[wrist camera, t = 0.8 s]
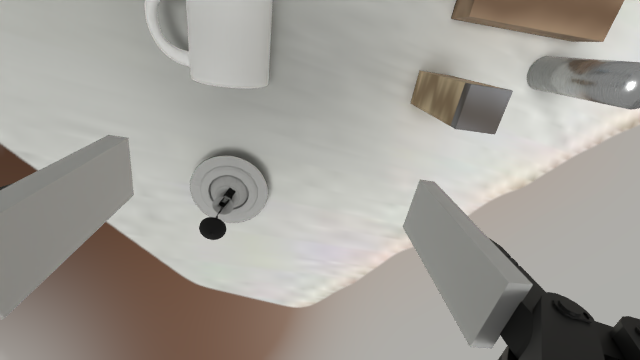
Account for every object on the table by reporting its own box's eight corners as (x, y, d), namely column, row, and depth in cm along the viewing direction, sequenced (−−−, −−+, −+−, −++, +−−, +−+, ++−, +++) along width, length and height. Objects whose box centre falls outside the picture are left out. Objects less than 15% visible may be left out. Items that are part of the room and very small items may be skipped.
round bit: (535, 53, 36) (636, 60, 25) (564, 58, 37) (675, 67, 26) (521, 87, 38) (610, 106, 27) (549, 91, 38) (647, 112, 28)
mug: (276, -16, 31) (269, -31, 24) (271, 81, 36) (264, 92, 28) (158, -34, 30) (114, -57, 23) (167, 69, 34) (133, 77, 27)
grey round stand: (188, 172, 27) (140, 244, 30) (278, 225, 30) (227, 285, 33) (220, 133, 38) (183, 188, 41) (283, 175, 41) (244, 223, 44)
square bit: (419, 70, 36) (471, 84, 25) (449, 75, 37) (512, 90, 26) (410, 103, 38) (455, 128, 27) (439, 107, 38) (494, 134, 28)
